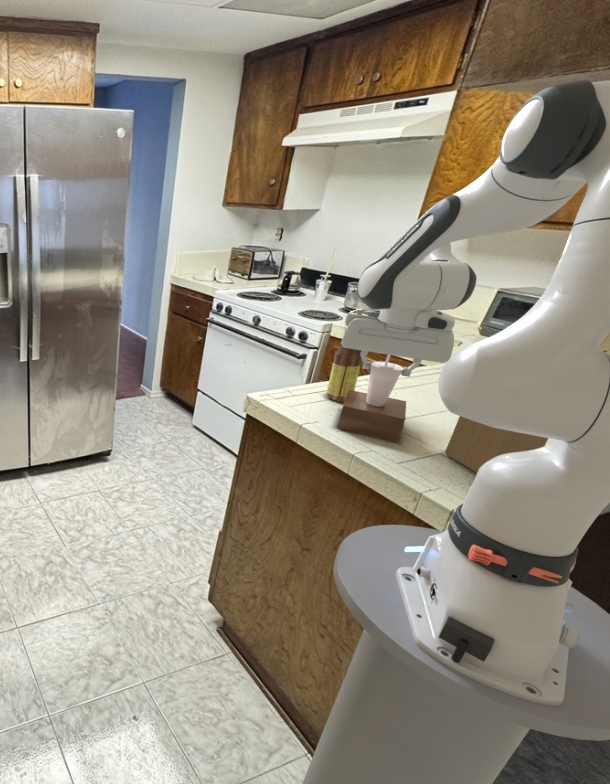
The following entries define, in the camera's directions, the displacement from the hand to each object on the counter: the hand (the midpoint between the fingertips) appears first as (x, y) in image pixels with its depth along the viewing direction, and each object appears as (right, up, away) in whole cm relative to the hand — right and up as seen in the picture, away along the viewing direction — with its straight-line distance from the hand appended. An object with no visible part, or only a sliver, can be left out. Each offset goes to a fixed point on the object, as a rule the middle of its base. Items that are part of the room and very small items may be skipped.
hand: (385, 372), depth 110 cm
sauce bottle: (+2, -7, +21) cm, 22 cm away
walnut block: (0, -13, +6) cm, 14 cm away
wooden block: (+13, -20, -11) cm, 26 cm away
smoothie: (0, -8, +3) cm, 8 cm away
